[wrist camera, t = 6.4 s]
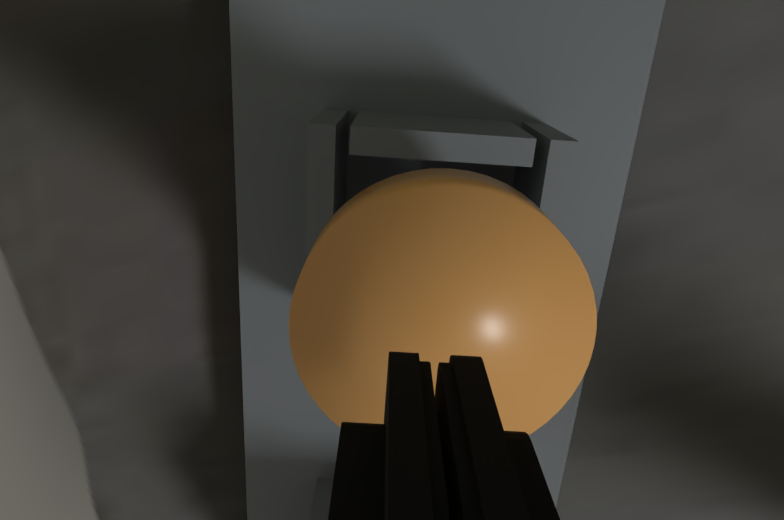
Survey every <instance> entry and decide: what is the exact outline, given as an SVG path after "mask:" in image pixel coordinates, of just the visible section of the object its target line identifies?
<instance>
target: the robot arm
mask: <svg viewBox="0 0 784 520" xmlns="http://www.w3.org/2000/svg"><path fill="white" fill-rule="evenodd" d="M328 520H560V518H559V516H558V513H557V510H556V507H555V505H554V502H553V499H552V496H551V494H550V491H549V488H548V485H547V483H546V480H545V477H544V474H543V472H542V469H541V466H540V463H539V460H538V458H537V455H536V452H535V449H534V447H533V444H532V441H531V439H530V437H529V435H528V434H527V433H526V432H519V431H504V429H503V426H502V423H501V419H500V416H499V413H498V409H497V406H496V403H495V399H494V396H493V393H492V389H491V386H490V383H489V379H488V376H487V372H486V369H485V366H484V362H483V359H482V357H478V356H461V355H451V356H450V359H449V363H445V362H439V364H438V370H437V379H436V388H435V395H434V387H433V379H432V371H431V364H430V362H428V361H420V359H419V353H409V352H392V351H389V356H388V370H387V384H386V398H385V412H384V424H373V423H355V422H342V423H341V429H340V436H339V443H338V450H337V458H336V465H335V472H334V479H333V486H332V493H331V500H330V507H329V515H328Z"/></svg>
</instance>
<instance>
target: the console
mask: <svg viewBox="0 0 784 520" xmlns="http://www.w3.org/2000/svg"><path fill="white" fill-rule="evenodd" d="M665 1H666V0H229V17H230V45H231V73H232V102H233V130H234V158H235V187H236V215H237V244H238V272H239V300H240V329H241V357H242V385H243V414H244V442H245V471H246V499H247V520H328V515H329V507H330V500H331V493H332V486H333V479H334V472H335V465H336V458H337V450H338V443H339V436H340V429H341V428H340V427H339V426H338V425H337V424H335V423H334V422H333V421H332V420H331V419H330V418H329V417H328V416H327V415H326V414H325V413H324V412H323V411H322V410H321V409H320V408H319V407H318V406H317V404H316V403H315V401H314V400H313V399H312V397H311V396H310V395H309V393H308V392H307V390H306V388H305V386H304V384H303V382H302V381H301V379H300V377H299V374H298V371H297V369H296V366H295V363H294V360H293V356H292V351H291V347H290V339H289V314H290V306H291V301H292V297H293V292H294V289H295V286H296V284H297V281H298V278H299V276H300V273H301V271H302V269H303V267H304V264H305V262H306V260H307V258H308V255H309V253H310V251H311V249H312V247H313V245H314V243H315V241H316V239H317V237H318V236H319V234H320V232H321V230H322V229H323V228H324V226H325V225H326V224H327V222H328V221H329V220H330V218H331V217H332V216H333V215H334V214H335V213H336V212H337V211H338V210H339V209H340V208H341V207H342V206H343V205H344V204H345V203H346V202H347V201H349V200H350V199H351V198H353V197H354V196H355V195H356V194H358V193H359V192H361V191H362V190H364V189H366V188H368V187H369V186H371V185H373V184H375V183H377V182H379V181H382V180H384V179H387V178H389V177H391V176H394V175H398V174H402V173H405V172H409V171H414V170H422V169H430V168H452V169H459V170H467V171H472V172H476V173H479V174H483V175H487V176H490V177H492V178H494V179H497V180H499V181H501V182H504V183H506V184H508V185H509V186H511V187H513V188H514V189H516V190H518V191H519V192H521V193H522V194H524V195H525V196H526V197H527V198H529V199H530V200H531V201H532V202H534V203H535V204H536V205H537V206H538V207H539V208H540V209H541V210H542V211H543V213H544V214H545V215H546V216H547V217H548V218H549V219H550V220H551V221H552V223H553V224H554V225H555V226H556V227H557V228H558V230H559V231H560V232H561V233H562V234H563V235H564V237H565V238H566V239H567V240H568V241H569V243H570V244H571V246H572V247H573V248H574V250H575V251H576V253H577V254H578V256H579V257H580V259H581V261H582V263H583V265H584V267H585V269H586V271H587V273H588V276H589V279H590V282H591V285H592V288H593V291H594V297H595V303H596V310H597V316H598V311H599V306H600V302H601V297H602V293H603V288H604V283H605V279H606V274H607V269H608V265H609V260H610V256H611V251H612V246H613V242H614V237H615V233H616V228H617V223H618V219H619V214H620V209H621V205H622V200H623V196H624V191H625V186H626V182H627V177H628V172H629V168H630V163H631V159H632V154H633V149H634V145H635V140H636V135H637V131H638V126H639V122H640V117H641V112H642V108H643V103H644V98H645V94H646V89H647V85H648V80H649V75H650V71H651V66H652V62H653V57H654V52H655V48H656V43H657V38H658V34H659V29H660V25H661V20H662V15H663V11H664V6H665ZM584 376H585V374H584ZM584 376H583V378H582V380H581V382H580V384H579V385H578V387H577V388H576V390H575V392H574V393H573V395H572V396H571V397H570V399H569V400H568V401H567V402H566V403H565V405H564V406H563V407H562V408H561V409H560V410H559V411H558V412H557V413H556V414H555V415H554V416H553V417H552V418H551V419H550V420H549V421H548V422H547V423H545V424H544V425H543V426H541V427H540V428H539V429H537V430H536V431H535V432H533V433H532V434H530V435H529V437H530V439H531V441H532V444H533V447H534V449H535V452H536V455H537V458H538V460H539V463H540V466H541V469H542V472H543V474H544V477H545V480H546V483H547V485H548V488H549V491H550V494H551V496H552V499H553V502H554V505H555V507H556V505H557V501H558V496H559V491H560V487H561V482H562V477H563V473H564V468H565V464H566V459H567V454H568V450H569V445H570V440H571V436H572V431H573V427H574V422H575V417H576V413H577V408H578V404H579V399H580V394H581V390H582V385H583V380H584Z"/></svg>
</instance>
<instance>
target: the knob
mask: <svg viewBox="0 0 784 520" xmlns="http://www.w3.org/2000/svg"><path fill="white" fill-rule="evenodd" d="M596 330H597V310H596V303H595V297H594V291H593V288H592V285H591V282H590V279H589V276H588V273H587V271H586V269H585V267H584V265H583V263H582V261H581V259H580V257H579V256H578V254H577V253H576V251H575V250H574V248H573V247H572V246H571V244H570V243H569V241H568V240H567V239H566V238H565V237H564V235H563V234H562V233H561V232H560V231H559V230H558V228H557V227H556V226H555V225H554V224H553V223H552V221H551V220H550V219H549V218H548V217H547V216H546V215H545V214H544V213H543V211H542V210H541V209H540V208H539V207H538V206H537V205H536V204H535V203H534V202H532V201H531V200H530V199H529V198H527V197H526V196H525V195H524V194H522V193H521V192H519V191H518V190H516V189H514V188H513V187H511V186H509V185H508V184H506V183H504V182H501V181H499V180H497V179H494V178H492V177H490V176H487V175H483V174H479V173H476V172H472V171H467V170H459V169H452V168H430V169H422V170H414V171H409V172H405V173H402V174H398V175H394V176H391V177H389V178H387V179H384V180H382V181H379V182H377V183H375V184H373V185H371V186H369V187H368V188H366V189H364V190H362V191H361V192H359V193H358V194H356V195H355V196H354V197H353V198H351V199H350V200H349V201H347V202H346V203H345V204H344V205H343V206H342V207H341V208H340V209H339V210H338V211H337V212H336V213H335V214H334V215H333V216H332V217H331V218H330V220H329V221H328V222H327V224H326V225H325V226H324V228H323V229H322V230H321V232H320V234H319V236H318V237H317V239H316V241H315V243H314V245H313V247H312V249H311V251H310V253H309V255H308V258H307V260H306V262H305V264H304V267H303V269H302V271H301V273H300V276H299V278H298V281H297V284H296V286H295V289H294V292H293V297H292V301H291V306H290V314H289V339H290V347H291V351H292V356H293V360H294V363H295V366H296V369H297V371H298V374H299V377H300V379H301V381H302V382H303V384H304V386H305V388H306V390H307V392H308V393H309V395H310V396H311V397H312V399H313V400H314V401H315V403H316V404H317V406H318V407H319V408H320V409H321V410H322V411H323V412H324V413H325V414H326V415H327V416H328V417H329V418H330V419H331V420H332V421H333V422H334V423H335V424H337V425H338V426H339V427H340V428H341V423H342V422H355V423H373V424H384V412H385V398H386V384H387V370H388V356H389V351H392V352H409V353H419V359H420V361H428V362H430V364H431V371H432V379H433V387H434V395H435V388H436V379H437V370H438V364H439V362H445V363H449V359H450V356H451V355H461V356H478V357H482V359H483V362H484V366H485V369H486V372H487V376H488V379H489V383H490V386H491V389H492V393H493V396H494V399H495V403H496V406H497V409H498V413H499V416H500V419H501V423H502V426H503V429H504V431H519V432H526V433H527V434H528V435H530V434H532V433H533V432H535V431H536V430H537V429H539V428H540V427H541V426H543V425H544V424H545V423H547V422H548V421H549V420H550V419H551V418H552V417H553V416H554V415H555V414H556V413H557V412H558V411H559V410H560V409H561V408H562V407H563V406H564V405H565V403H566V402H567V401H568V400H569V399H570V397H571V396H572V395H573V393H574V392H575V390H576V388H577V387H578V385H579V384H580V382H581V380H582V378H583V376H584V374H585V372H586V369H587V367H588V365H589V362H590V359H591V355H592V352H593V349H594V344H595V337H596Z"/></svg>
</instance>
